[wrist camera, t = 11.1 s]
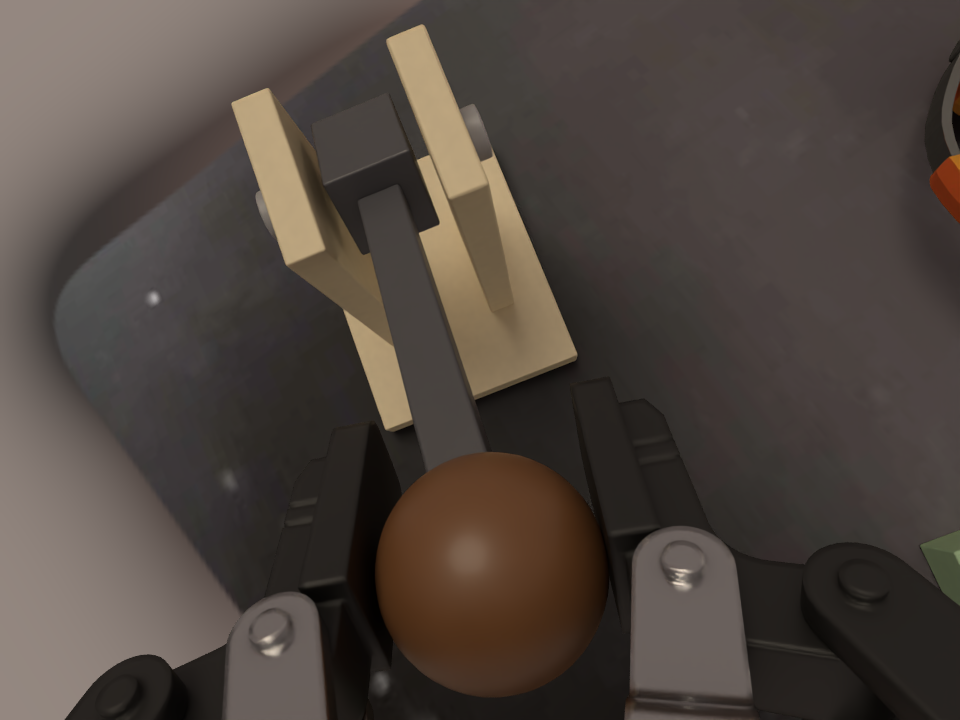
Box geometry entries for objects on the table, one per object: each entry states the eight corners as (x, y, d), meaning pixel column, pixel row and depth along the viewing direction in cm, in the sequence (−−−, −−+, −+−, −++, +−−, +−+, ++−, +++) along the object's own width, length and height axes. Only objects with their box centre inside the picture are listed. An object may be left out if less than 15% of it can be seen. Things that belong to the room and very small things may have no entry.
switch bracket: (576, 360, 27) (600, 270, 15) (393, 432, 28) (261, 404, 15) (488, 145, 29) (441, -98, 16) (316, 216, 29) (141, 29, 17)
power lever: (655, 672, 11) (638, 604, 8) (445, 749, 11) (356, 709, 8) (448, 172, 20) (405, 59, 17) (334, 219, 20) (272, 113, 17)
